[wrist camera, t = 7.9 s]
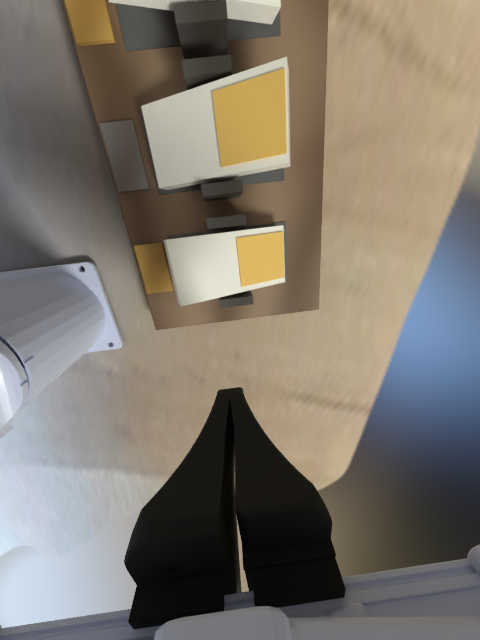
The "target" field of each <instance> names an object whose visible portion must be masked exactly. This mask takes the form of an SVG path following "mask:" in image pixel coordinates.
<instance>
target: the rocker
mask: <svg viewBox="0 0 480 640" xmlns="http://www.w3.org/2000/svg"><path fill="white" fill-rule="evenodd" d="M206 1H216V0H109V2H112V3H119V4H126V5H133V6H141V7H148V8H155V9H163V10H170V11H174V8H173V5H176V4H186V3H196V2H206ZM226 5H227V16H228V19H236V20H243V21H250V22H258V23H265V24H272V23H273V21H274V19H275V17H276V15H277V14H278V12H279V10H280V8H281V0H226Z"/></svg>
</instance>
